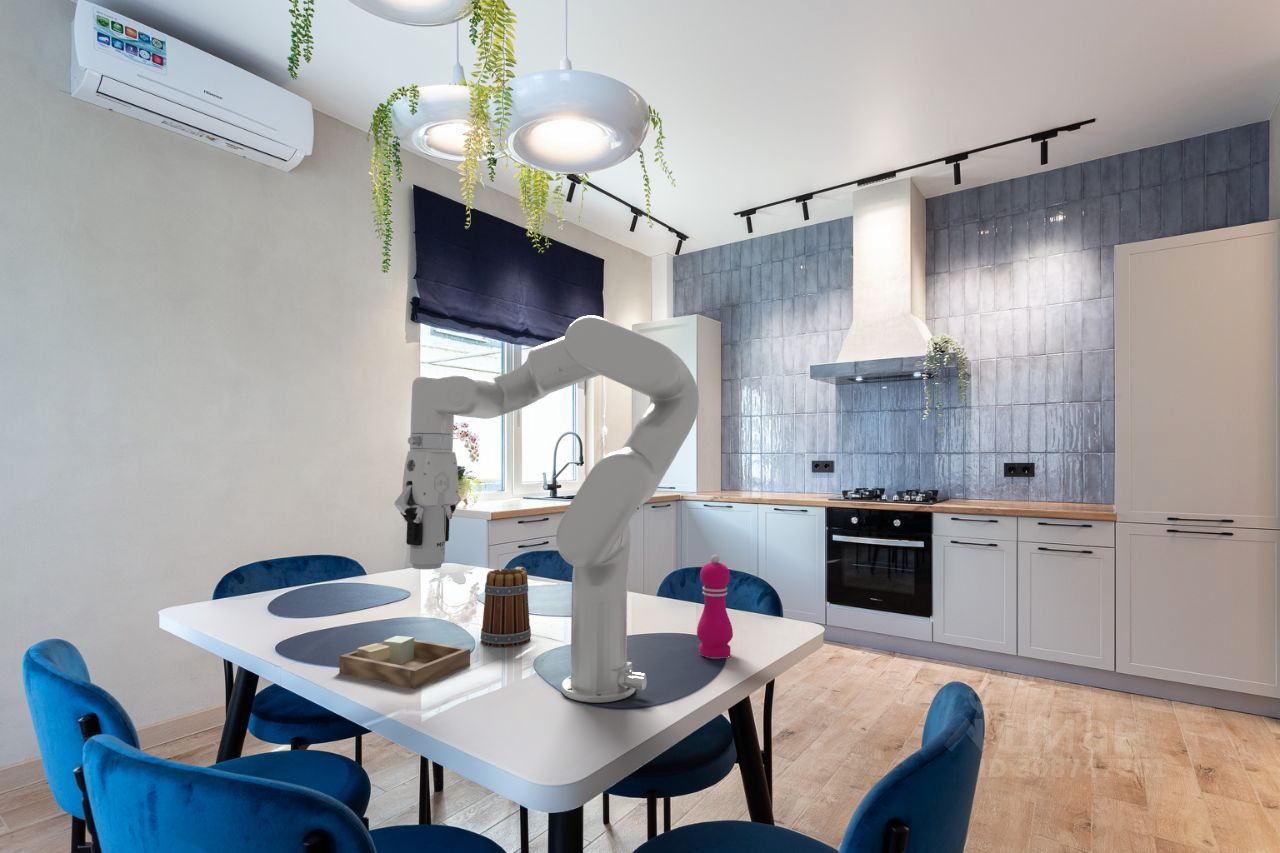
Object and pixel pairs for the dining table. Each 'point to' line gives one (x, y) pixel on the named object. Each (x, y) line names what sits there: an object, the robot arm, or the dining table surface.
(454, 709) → the dining table surface
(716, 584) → the pepper mill
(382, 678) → the tray
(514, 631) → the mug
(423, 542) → the energy drink can
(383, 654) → the beech block
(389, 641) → the sage block
